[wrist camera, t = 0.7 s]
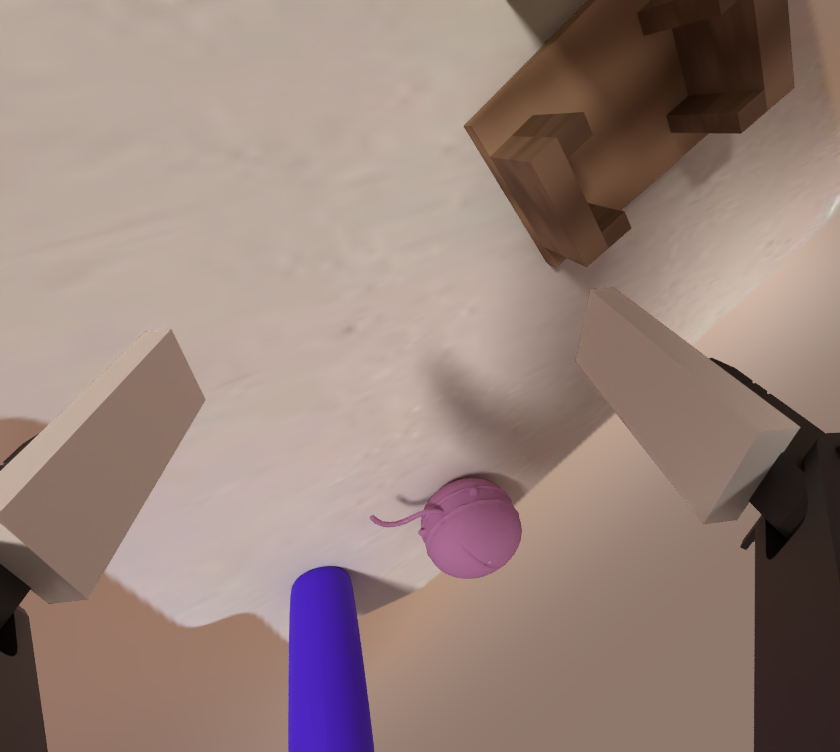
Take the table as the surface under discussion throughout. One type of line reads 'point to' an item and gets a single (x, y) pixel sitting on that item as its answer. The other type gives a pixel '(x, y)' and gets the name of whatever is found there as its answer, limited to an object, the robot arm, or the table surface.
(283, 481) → the table surface
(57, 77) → the table surface
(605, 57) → the slot stand
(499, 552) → the pink toy mouse
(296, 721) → the bottle
